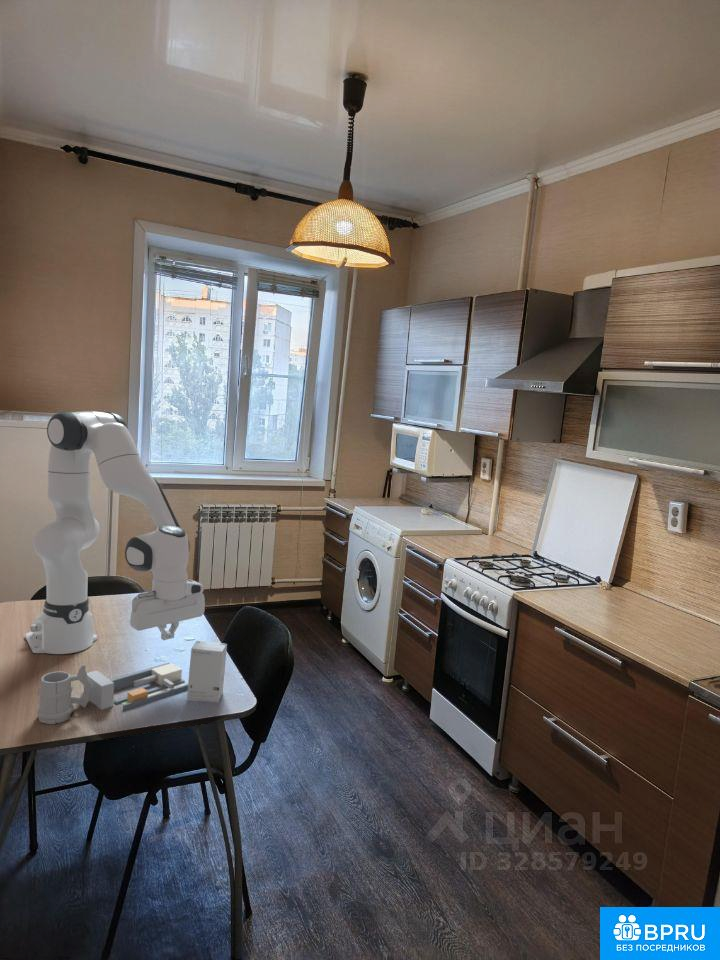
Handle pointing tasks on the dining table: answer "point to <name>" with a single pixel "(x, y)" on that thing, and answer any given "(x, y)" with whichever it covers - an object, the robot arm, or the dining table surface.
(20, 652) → the dining table surface
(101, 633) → the dining table surface
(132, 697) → the orange rectangular block
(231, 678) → the dining table surface
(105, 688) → the base
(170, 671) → the cream block with rods
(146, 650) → the dining table surface
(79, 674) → the mug
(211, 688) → the skincare box
